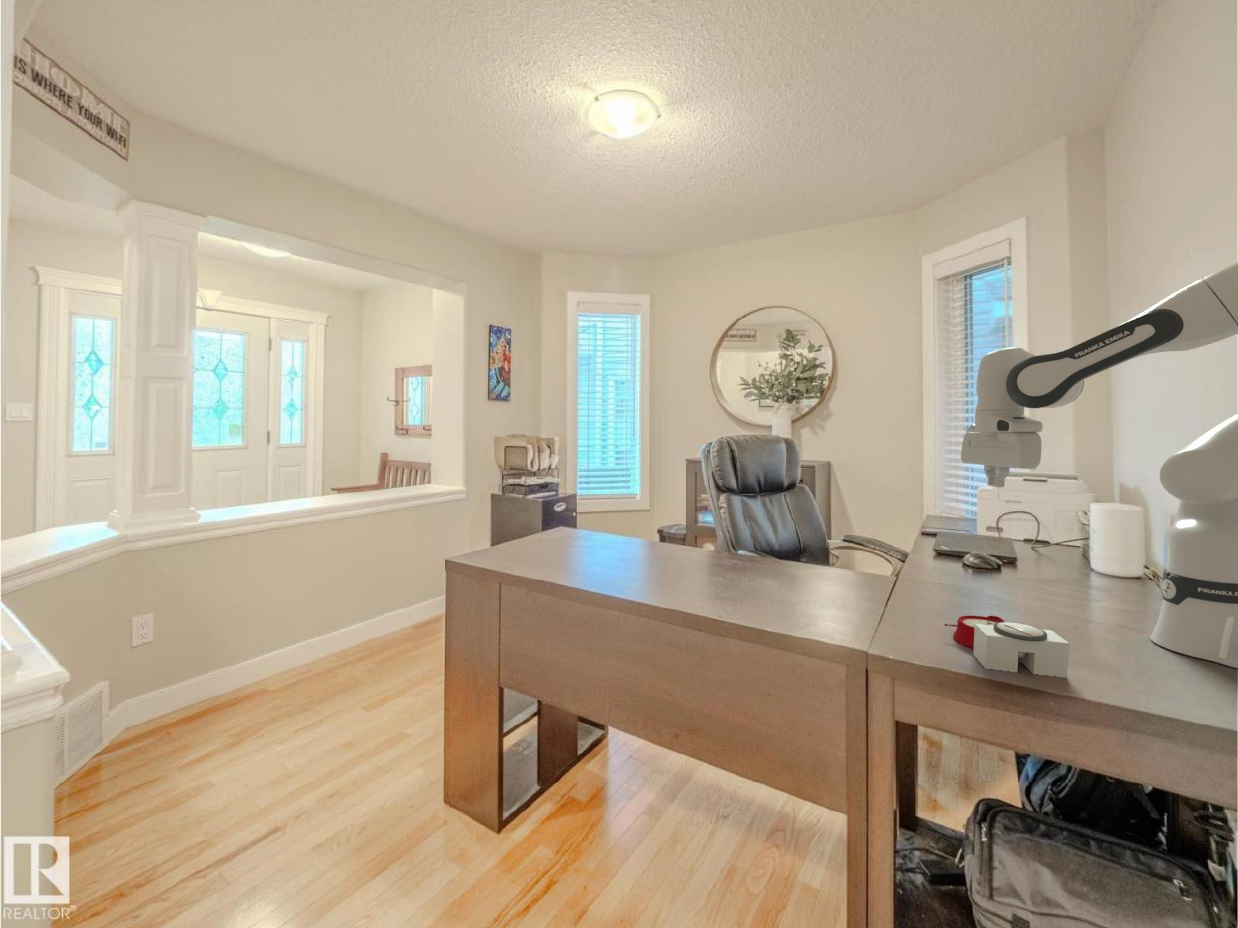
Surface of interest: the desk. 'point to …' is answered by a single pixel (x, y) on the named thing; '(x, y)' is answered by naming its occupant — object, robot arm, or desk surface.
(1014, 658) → the dial gauge
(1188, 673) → the desk surface
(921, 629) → the desk surface
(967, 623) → the alarm clock
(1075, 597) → the desk surface
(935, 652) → the desk surface
